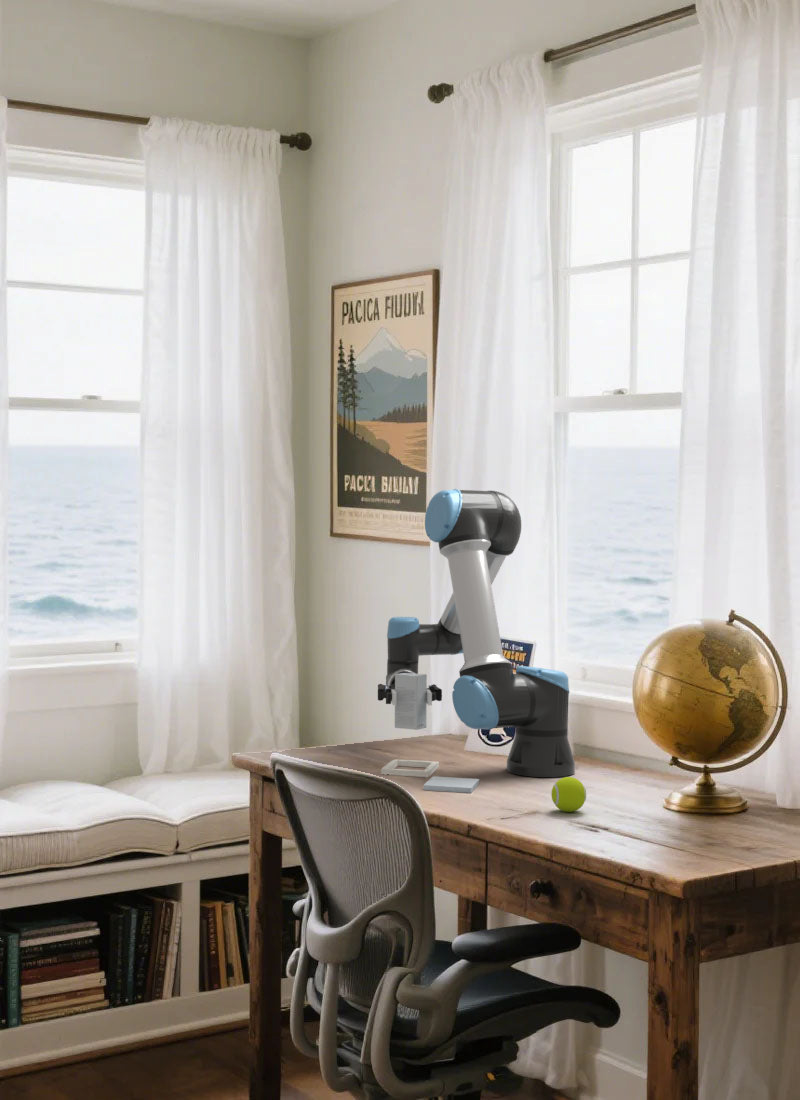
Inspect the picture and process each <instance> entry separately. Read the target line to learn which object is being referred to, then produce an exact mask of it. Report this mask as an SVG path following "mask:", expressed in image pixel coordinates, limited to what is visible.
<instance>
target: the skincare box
mask: <svg viewBox="0 0 800 1100" xmlns="http://www.w3.org/2000/svg"><path fill="white" fill-rule="evenodd" d="M427 677H428V676H427V674H426V673H425V674H423V673H418V674H413V673H401V674H395V691H396V705H394V728H395V729H405V730H416V731H419V730H422V729H426V728H427V705H428V704H427V703H426V701H427V688H428V685H427V683H428V682H427V680H428V679H427Z"/></svg>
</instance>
